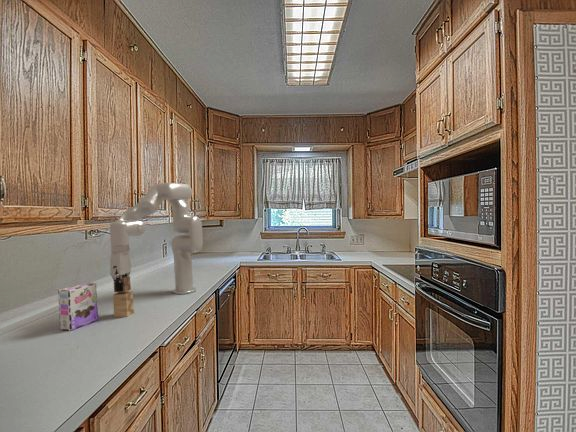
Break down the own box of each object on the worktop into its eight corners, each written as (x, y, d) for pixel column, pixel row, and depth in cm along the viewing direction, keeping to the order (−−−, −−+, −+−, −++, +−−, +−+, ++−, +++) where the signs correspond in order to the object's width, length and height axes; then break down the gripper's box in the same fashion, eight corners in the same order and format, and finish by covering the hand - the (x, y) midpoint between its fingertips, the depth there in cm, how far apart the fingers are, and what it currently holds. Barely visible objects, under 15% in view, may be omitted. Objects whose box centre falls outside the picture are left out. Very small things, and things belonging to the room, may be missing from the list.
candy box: (70, 331, 146) (68, 290, 146) (59, 330, 148) (57, 289, 147) (98, 320, 159) (96, 282, 159) (88, 319, 161) (86, 282, 161)
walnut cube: (120, 289, 168) (119, 276, 168) (130, 289, 168) (130, 276, 168) (114, 292, 163) (113, 278, 163) (125, 292, 163) (124, 278, 163)
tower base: (121, 313, 169) (120, 302, 169) (133, 312, 169) (133, 302, 168) (114, 317, 163) (113, 305, 163) (127, 316, 163) (126, 305, 163)
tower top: (120, 302, 169) (120, 291, 169) (133, 302, 168) (132, 291, 168) (113, 305, 163) (112, 294, 163) (126, 305, 162) (126, 294, 162)
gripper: (121, 247, 173) (124, 285, 174) (101, 252, 157) (103, 294, 157) (137, 246, 173) (139, 285, 174) (118, 251, 156) (120, 294, 157)
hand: (122, 289), depth 165 cm, fingers closed on walnut cube, 4 cm apart
